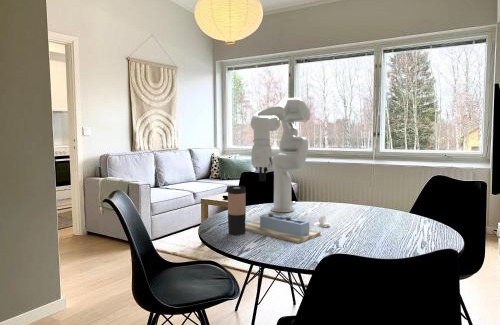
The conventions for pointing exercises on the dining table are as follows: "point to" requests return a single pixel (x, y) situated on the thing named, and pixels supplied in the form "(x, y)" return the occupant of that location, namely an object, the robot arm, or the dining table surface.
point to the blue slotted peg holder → (285, 225)
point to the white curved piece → (322, 222)
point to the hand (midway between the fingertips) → (262, 180)
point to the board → (297, 239)
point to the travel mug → (236, 210)
